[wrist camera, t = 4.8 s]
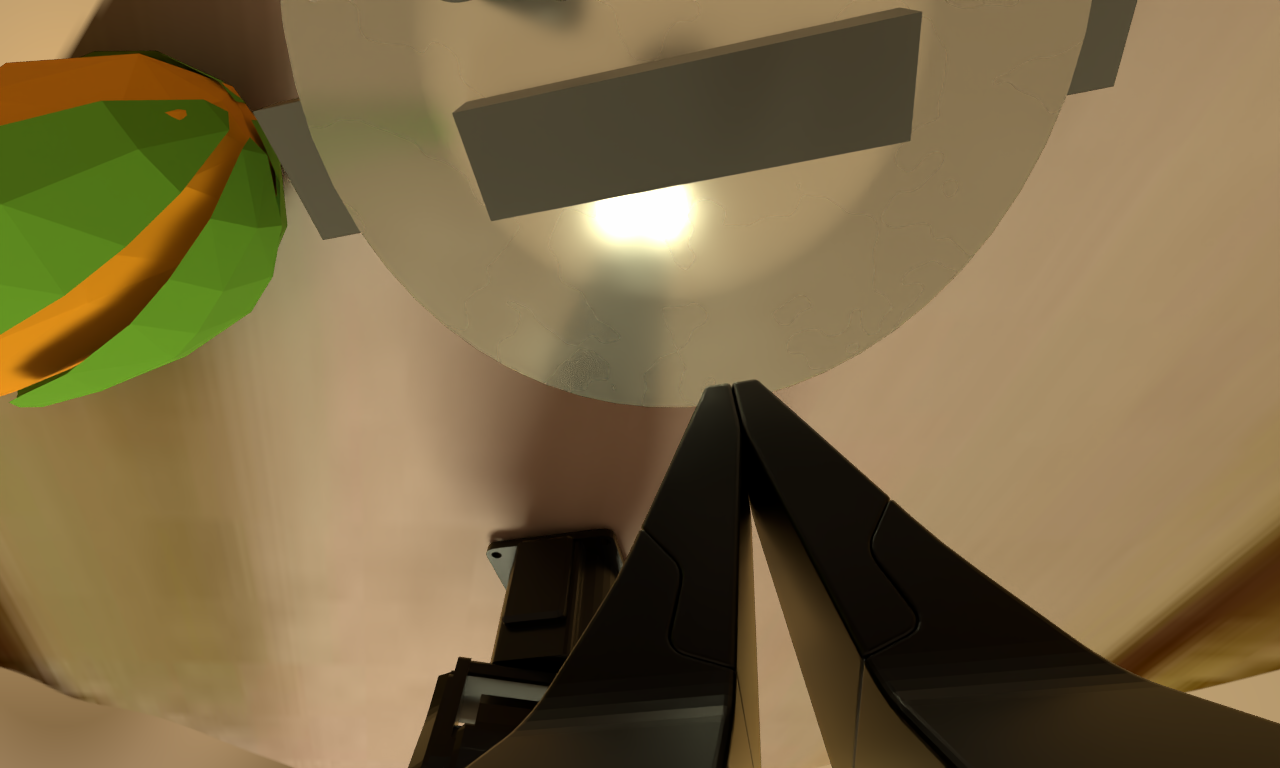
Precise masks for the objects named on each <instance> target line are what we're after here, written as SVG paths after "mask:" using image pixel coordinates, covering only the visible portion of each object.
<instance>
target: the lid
mask: <svg viewBox="0 0 1280 768" xmlns="http://www.w3.org/2000/svg"><path fill="white" fill-rule="evenodd" d="M280 1H281V13H282V24H283V29H284V34H285V39H286V44H287V49H288V54H289V58H290V63H291V68H292V73H293V78H294V83H295V86H296V90H297V93H298V96H299V99H300V102H301V105H302V108H303V111H304V114H305V117H306V121H307V124H308V127H309V130H310V133H311V136H312V139H313V141H314V143H315V146H316V148H317V150H318V152H319V155H320V157H321V159H322V161H323V164H324V166H325V168H326V170H327V172H328V175H329V177H330V179H331V181H332V184H333V186H334V188H335V190H336V191H337V193H338V195H339V196H340V198H341V200H342V202H343V203H344V205H345V207H346V208H347V210H348V212H349V214H350V215H351V217H352V219H353V221H354V222H355V224H356V226H357V227H358V229H359V231H360V232H361V233H362V235H363V236H364V237H365V239H366V240H367V242H368V243H369V244H370V246H371V247H372V248H373V250H374V251H375V252H376V254H377V255H378V257H379V258H380V259H381V261H382V262H383V263H384V265H385V266H386V267H387V268H388V270H389V271H390V272H391V273H392V274H393V275H394V276H395V277H396V278H397V280H398V281H399V282H400V283H401V284H402V285H403V286H404V287H405V288H406V289H407V291H408V292H409V293H410V294H411V295H412V296H413V297H414V298H415V299H416V300H417V301H418V302H419V303H420V304H421V305H422V306H423V307H425V308H426V309H427V310H428V311H429V312H430V313H431V314H432V315H433V316H435V317H436V318H437V319H438V320H439V321H440V322H441V323H442V324H444V325H445V326H446V327H447V328H448V329H450V330H451V331H453V332H454V333H455V334H457V335H458V336H459V337H461V338H462V339H464V340H465V341H466V342H468V343H469V344H470V345H472V346H473V347H475V348H476V349H477V350H479V351H481V352H482V353H484V354H486V355H488V356H489V357H491V358H493V359H494V360H496V361H498V362H500V363H501V364H503V365H505V366H507V367H508V368H510V369H512V370H514V371H516V372H519V373H521V374H523V375H525V376H528V377H530V378H532V379H534V380H537V381H539V382H541V383H543V384H546V385H549V386H552V387H555V388H558V389H561V390H564V391H567V392H570V393H573V394H576V395H579V396H584V397H588V398H593V399H598V400H602V401H607V402H612V403H618V404H627V405H636V406H646V407H692V406H697V405H698V402H699V400H700V398H701V396H702V394H703V391H704V390H705V388H706V387H707V386H711V385H718V384H725V383H728V384H730V385H731V386H732V385H733V383H734V382H739V381H745V380H752V379H756V380H758V381H760V382H761V383H762V384H763V385H764V386H765V387H766V388H767V389H769V390H770V391H771V392H773V391H777V390H780V389H783V388H787V387H790V386H793V385H795V384H797V383H800V382H802V381H805V380H807V379H810V378H812V377H814V376H817V375H819V374H822V373H824V372H826V371H828V370H830V369H832V368H834V367H836V366H838V365H839V364H841V363H843V362H845V361H847V360H849V359H851V358H853V357H854V356H856V355H858V354H860V353H862V352H863V351H865V350H866V349H868V348H869V347H871V346H872V345H874V344H875V343H877V342H878V341H880V340H881V339H883V338H884V337H886V336H887V335H889V334H890V333H892V332H893V331H895V330H896V329H897V328H899V327H900V326H901V325H902V324H903V323H905V322H906V321H907V320H908V319H910V318H911V317H912V316H913V315H915V314H916V313H917V312H918V311H919V310H921V309H922V308H923V307H924V306H926V305H927V304H928V303H929V302H930V301H931V300H932V299H933V298H934V297H935V296H936V295H937V294H938V293H939V292H940V291H941V290H942V289H943V288H944V287H945V286H946V285H947V284H948V283H949V282H950V281H951V280H952V279H953V278H954V277H955V276H956V275H957V274H958V273H959V272H960V271H961V270H962V269H963V268H964V267H965V265H966V264H967V263H968V262H969V261H970V259H971V258H972V257H973V256H974V255H975V253H976V252H977V251H978V250H979V249H980V247H981V246H982V245H983V244H984V243H985V241H986V240H987V239H988V238H989V237H990V235H991V234H992V233H993V231H994V230H995V228H996V227H997V225H998V224H999V222H1000V221H1001V220H1002V218H1003V217H1004V215H1005V214H1006V212H1007V211H1008V209H1009V208H1010V206H1011V205H1012V203H1013V202H1014V200H1015V199H1016V197H1017V196H1018V194H1019V193H1020V191H1021V190H1022V188H1023V186H1024V184H1025V182H1026V180H1027V178H1028V177H1029V175H1030V173H1031V171H1032V169H1033V167H1034V166H1035V164H1036V162H1037V160H1038V158H1039V156H1040V155H1041V153H1042V151H1043V149H1044V147H1045V145H1046V143H1047V141H1048V138H1049V136H1050V134H1051V131H1052V129H1053V126H1054V124H1055V122H1056V119H1057V117H1058V115H1059V112H1060V110H1061V107H1062V105H1063V103H1064V100H1065V98H1066V95H1067V93H1068V90H1069V87H1070V84H1071V80H1072V77H1073V74H1074V70H1075V67H1076V64H1077V60H1078V57H1079V54H1080V50H1081V47H1082V44H1083V40H1084V37H1085V34H1086V29H1087V24H1088V19H1089V13H1090V8H1091V2H1092V0H280Z"/></svg>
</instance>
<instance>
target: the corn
mask: <svg viewBox="0 0 1280 768" xmlns="http://www.w3.org/2000/svg"><path fill="white" fill-rule="evenodd" d="M286 228H287V217H286V208H285V199H284V190H283V181H282V172H281V163H280V161H279V159H278V157H277V155H276V153H275V152H274V150H273V148H272V146H271V144H270V143H269V141H268V139H267V137H266V135H265V133H264V132H263V130H262V128H261V126H260V124H259V122H258V121H257V119H256V118H255V117H254V115H253V114H252V112H251V111H250V110H249V108H248V107H247V105H246V103H245V102H244V101H243V100H242V99H241V97H240V96H239V94H238V93H237V92H236V90H235V89H234V88H233V87H232V86H230V85H227V84H225V83H224V82H223V81H221V80H219V79H217V78H215V77H213V76H210V75H208V74H206V73H204V72H202V71H199V70H197V69H195V68H193V67H191V66H189V65H186V64H184V63H182V62H180V61H178V60H175V59H173V58H171V57H169V56H167V55H165V54H162V53H160V52H158V51H94V52H92V53H89V54H87V55H84V56H82V57H79V58H68V59H54V60H40V61H26V62H12V63H5V64H4V65H2V66H1V67H0V396H3V395H6V394H9V393H12V392H15V391H18V395H17V398H16V399H14V400H12V401H11V402H10V403H12V404H14V405H16V406H18V407H44V406H47V405H51V404H55V403H59V402H62V401H66V400H70V399H73V398H77V397H81V396H85V395H88V394H92V393H96V392H100V391H102V390H105V389H107V388H109V387H112V386H114V385H117V384H119V383H122V382H124V381H126V380H129V379H131V378H134V377H136V376H139V375H141V374H144V373H146V372H148V371H151V370H153V369H156V368H158V367H161V366H163V365H166V364H168V363H171V362H173V361H176V360H178V359H181V358H183V357H186V356H187V355H189V354H190V353H192V352H193V351H194V350H196V349H197V348H199V347H200V346H202V345H203V344H205V343H206V342H208V341H209V340H211V339H212V338H213V337H215V336H216V335H218V334H219V333H221V332H222V331H224V330H225V329H227V328H228V327H230V326H231V325H232V324H234V323H235V322H237V321H238V320H240V319H241V318H243V317H244V316H246V315H247V314H249V313H250V312H251V311H252V310H253V308H254V306H255V305H256V303H257V301H258V300H259V298H260V297H261V295H262V293H263V292H264V290H265V288H266V287H267V285H268V283H269V282H270V280H271V278H272V277H273V272H274V267H275V261H276V256H277V250H278V247H279V244H280V242H281V240H282V237H283V235H284V232H285V230H286Z"/></svg>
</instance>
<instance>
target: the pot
mask: <svg viewBox="0 0 1280 768" xmlns="http://www.w3.org/2000/svg"><path fill="white" fill-rule="evenodd" d="M1136 3H1137V0H1092V2H1091V8H1090V13H1089V19H1088V24H1087V29H1086V34H1085V37H1084V40H1083V44H1082V47H1081V50H1080V54H1079V57H1078V60H1077V64H1076V67H1075V70H1074V74H1073V77H1072V80H1071V84H1070V87H1069V90H1068V93H1067V95H1071V94H1076V93H1082V92H1087V91H1092V90H1097V89H1102V88H1107V87H1112V86H1114V83H1115V79H1116V76H1117V72H1118V68H1119V65H1120V61H1121V58H1122V54H1123V50H1124V47H1125V43H1126V39H1127V36H1128V32H1129V29H1130V25H1131V21H1132V18H1133V14H1134V10H1135V7H1136ZM253 113H254V115H255V117H256V119H257V121H258V122H259V124H260V126H261V128H262V130H263V132H264V133H265V135H266V137H267V139H268V141H269V143H270V144H271V146H272V148H273V150H274V152H275V153H276V155H277V157H278V159H279V161H280V163H281V164H282V166H283V168H284V170H285V172H286V173H287V175H288V177H289V179H290V181H291V183H292V184H293V186H294V188H295V190H296V192H297V194H298V195H299V197H300V199H301V201H302V203H303V204H304V206H305V208H306V210H307V212H308V214H309V215H310V217H311V219H312V221H313V223H314V224H315V226H316V228H317V230H318V232H319V234H320V235H321V237H322V239H323V240H325V239H331V238H336V237H341V236H346V235H351V234H356V233H361V232H360V231H359V229H358V227H357V226H356V224H355V222H354V221H353V219H352V217H351V215H350V214H349V212H348V210H347V208H346V207H345V205H344V203H343V202H342V200H341V198H340V196H339V195H338V193H337V191H336V190H335V188H334V186H333V184H332V181H331V179H330V177H329V175H328V172H327V170H326V168H325V166H324V164H323V161H322V159H321V157H320V155H319V152H318V150H317V148H316V146H315V143H314V141H313V139H312V136H311V133H310V130H309V127H308V124H307V121H306V117H305V114H304V111H303V108H302V105H301V102H300V99H299V98H296V99H292V100H287V101H283V102H279V103H275V104H272V105H270V106H267V107H264V108H261V109H259V110H256V111H253Z"/></svg>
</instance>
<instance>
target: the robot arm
mask: <svg viewBox="0 0 1280 768" xmlns="http://www.w3.org/2000/svg"><path fill="white" fill-rule="evenodd" d="M749 501H750V502H749ZM750 506H751V511H752V515H753V518H754V522H755V526H756V529H757V532H758V535H759V538H760V541H761V545H762V548H763V551H764V554H765V557H766V560H767V564H768V567H769V570H770V573H771V576H772V579H773V582H774V586H775V589H776V592H777V595H778V598H779V601H780V605H781V608H782V611H783V614H784V617H785V620H786V624H787V627H788V630H789V633H790V636H791V639H792V643H793V646H794V649H795V652H796V655H797V658H798V661H799V665H800V668H801V671H802V674H803V677H804V680H805V684H806V687H807V690H808V693H809V696H810V699H811V703H812V706H813V709H814V712H815V715H816V718H817V722H818V725H819V728H820V731H821V734H822V737H823V740H824V744H825V747H826V750H827V753H828V756H829V759H830V763H831V766H832V768H1280V724H1279V723H1276V722H1273V721H1270V720H1267V719H1264V718H1261V717H1258V716H1255V715H1251V714H1248V713H1245V712H1242V711H1239V710H1236V709H1233V708H1230V707H1227V706H1224V705H1221V704H1218V703H1214V702H1211V701H1208V700H1205V699H1202V698H1199V697H1196V696H1193V695H1190V694H1187V693H1184V692H1181V691H1178V690H1175V689H1172V688H1169V687H1165V686H1163V685H1160V684H1157V683H1154V682H1151V681H1149V680H1147V679H1145V678H1142V677H1140V676H1138V675H1135V674H1133V673H1131V672H1129V671H1127V670H1125V669H1123V668H1121V667H1120V666H1118V665H1116V664H1114V663H1112V662H1110V661H1109V660H1107V659H1105V658H1103V657H1102V656H1100V655H1098V654H1097V653H1095V652H1093V651H1092V650H1090V649H1089V648H1087V647H1086V646H1084V645H1083V644H1081V643H1080V642H1079V641H1077V640H1076V639H1074V638H1073V637H1071V636H1070V635H1069V634H1067V633H1066V632H1064V631H1063V630H1062V629H1060V628H1059V627H1057V626H1056V625H1055V624H1053V623H1052V622H1050V621H1049V620H1048V619H1046V618H1045V617H1044V616H1042V615H1041V614H1039V613H1038V612H1037V611H1035V610H1034V609H1032V608H1031V607H1030V606H1028V605H1027V604H1025V603H1024V602H1023V601H1021V600H1020V599H1018V598H1017V597H1016V596H1014V595H1013V594H1012V593H1010V592H1009V591H1007V590H1006V589H1005V588H1003V587H1002V586H1000V585H999V584H998V583H996V582H995V581H993V580H992V579H991V578H989V577H988V576H987V575H985V574H984V573H982V572H981V571H980V570H978V569H977V568H976V567H974V566H973V565H972V564H970V563H969V562H968V561H966V560H965V559H964V558H962V557H961V556H960V555H958V554H957V553H956V552H954V551H953V550H952V549H950V548H949V547H948V546H946V545H945V544H944V543H942V542H941V541H940V540H939V539H938V538H936V537H935V536H934V535H933V534H932V533H930V532H929V531H928V530H927V529H926V528H925V527H923V526H922V525H921V524H920V523H919V522H917V521H916V520H915V519H914V518H913V517H911V516H910V515H909V514H908V513H907V512H906V511H905V510H904V509H902V508H901V507H900V506H899V505H898V504H897V503H896V502H895V501H893V500H890V498H889V496H888V495H887V494H885V493H884V492H883V491H882V490H881V489H880V488H879V487H878V486H876V485H875V484H874V483H873V482H872V481H871V480H870V479H869V478H867V477H866V476H865V475H864V474H863V473H862V472H861V471H860V470H858V469H857V468H856V467H855V466H854V465H853V464H852V463H851V462H849V461H848V460H847V459H846V458H845V457H844V456H843V455H842V454H840V453H839V452H838V451H837V450H836V449H835V448H834V447H833V446H831V445H830V444H829V443H828V442H827V441H826V440H825V439H824V438H823V437H821V436H820V435H819V434H818V433H817V432H816V431H815V430H814V429H812V428H811V427H810V426H809V425H808V424H807V423H806V422H805V421H803V420H802V419H801V418H800V417H799V416H798V415H797V414H796V413H794V412H793V411H792V410H791V409H790V408H789V407H788V406H787V405H785V404H784V403H783V402H782V401H781V400H780V399H779V398H778V397H776V396H775V395H774V394H773V393H772V392H771V391H770V390H769V389H767V388H766V387H765V386H764V385H763V384H762V383H761V382H760V381H758V380H756V379H752V380H745V381H739V382H734V383H733V385H732V386H731V385H730V384H728V383H725V384H718V385H711V386H707V387H706V388H705V390H704V391H703V394H702V396H701V398H700V400H699V402H698V405H697V407H696V409H695V411H694V413H693V415H692V418H691V420H690V422H689V424H688V426H687V429H686V431H685V433H684V435H683V437H682V439H681V442H680V444H679V446H678V448H677V450H676V453H675V455H674V457H673V459H672V461H671V463H670V466H669V468H668V470H667V472H666V474H665V476H664V479H663V481H662V483H661V485H660V487H659V490H658V492H657V494H656V496H655V498H654V500H653V503H652V505H651V507H650V509H649V511H648V514H647V516H646V518H645V520H644V522H643V524H642V527H641V529H642V530H640V531H639V533H638V535H637V537H636V539H635V541H634V544H633V546H632V548H631V550H630V552H629V554H628V556H627V558H626V560H625V562H624V559H623V556H622V553H621V550H620V547H619V544H618V541H617V538H616V535H615V533H614V532H613V531H611V530H609V529H598V530H590V531H582V532H574V533H566V534H558V535H550V536H541V537H533V538H525V539H517V540H509V541H501V542H494V543H491V544H490V545H489V546H488V550H487V553H486V555H487V557H488V559H489V561H490V563H491V564H492V566H493V568H494V570H495V571H496V573H497V575H498V577H499V579H500V580H501V582H502V584H503V586H504V587H505V589H506V594H505V598H504V603H503V608H502V612H501V617H500V621H499V626H498V630H497V635H496V640H495V644H494V649H493V653H492V658H491V662H490V663H485V662H477V661H471V658H465V657H459V658H458V661H457V665H456V668H455V671H451V672H450V673H446V674H443V675H440V676H439V677H438V680H437V684H436V687H435V690H434V694H433V697H432V701H431V704H430V708H429V711H428V714H427V717H426V720H425V723H424V726H423V729H422V731H421V734H420V737H419V739H418V742H417V745H416V748H415V750H414V753H413V756H412V759H411V761H410V764H409V767H408V768H761V747H760V722H759V697H758V672H757V647H756V622H755V597H754V572H753V547H752V524H751V511H750ZM459 722H460V723H465V724H464V725H463V726H458V723H459Z"/></svg>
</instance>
